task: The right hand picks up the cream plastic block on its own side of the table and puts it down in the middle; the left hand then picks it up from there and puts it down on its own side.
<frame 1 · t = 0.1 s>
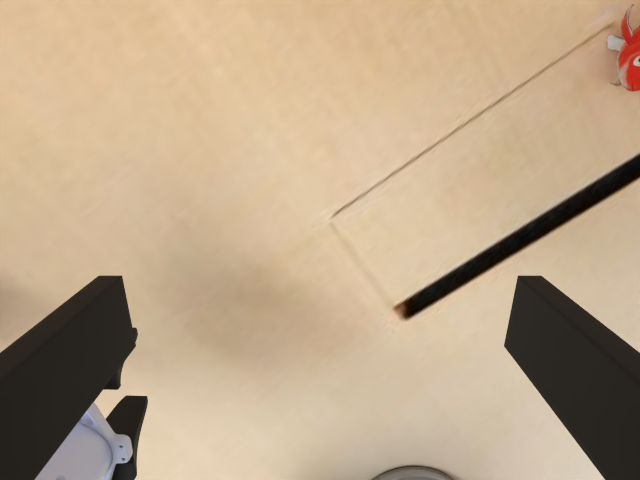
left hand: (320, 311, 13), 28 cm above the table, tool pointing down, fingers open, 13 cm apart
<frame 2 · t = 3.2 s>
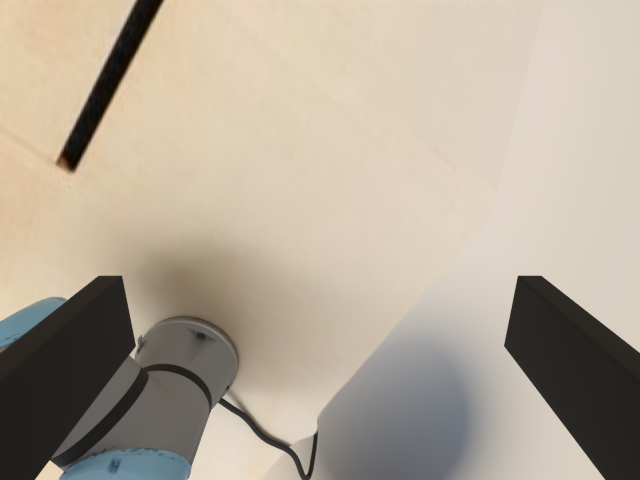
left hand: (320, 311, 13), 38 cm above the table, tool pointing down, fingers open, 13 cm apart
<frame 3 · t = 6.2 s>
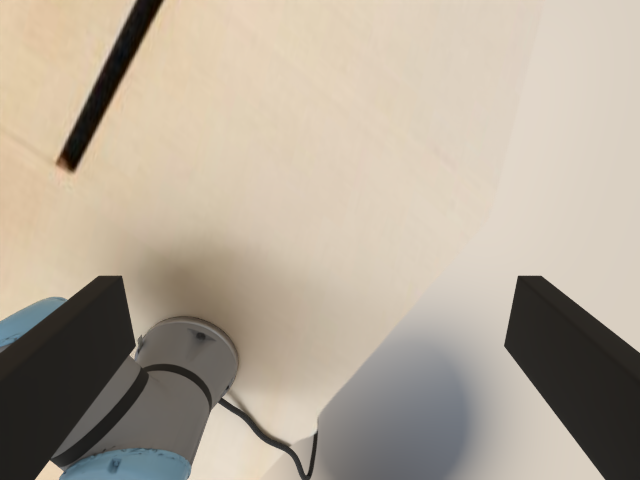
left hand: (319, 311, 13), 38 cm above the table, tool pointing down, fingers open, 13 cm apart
when the right hand's fingers open (2 cm above the table, at t = 9.3 s): block drops 1 cm, on the table.
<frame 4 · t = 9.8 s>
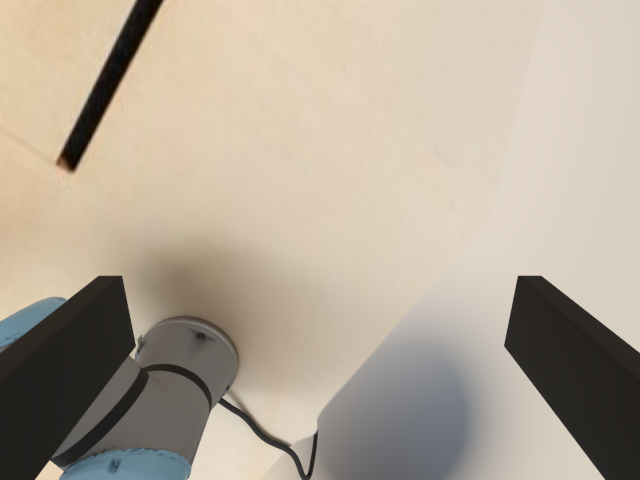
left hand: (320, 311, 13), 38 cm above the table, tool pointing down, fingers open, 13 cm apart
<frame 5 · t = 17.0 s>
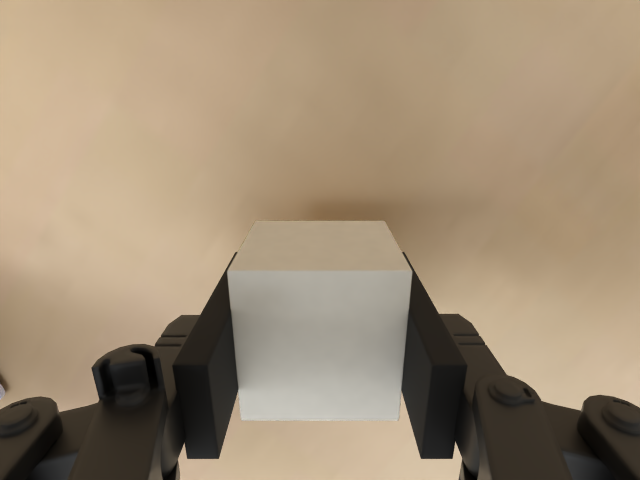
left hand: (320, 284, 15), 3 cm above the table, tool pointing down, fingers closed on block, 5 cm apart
block: (319, 281, 15), point 3 cm above the table, touching left hand
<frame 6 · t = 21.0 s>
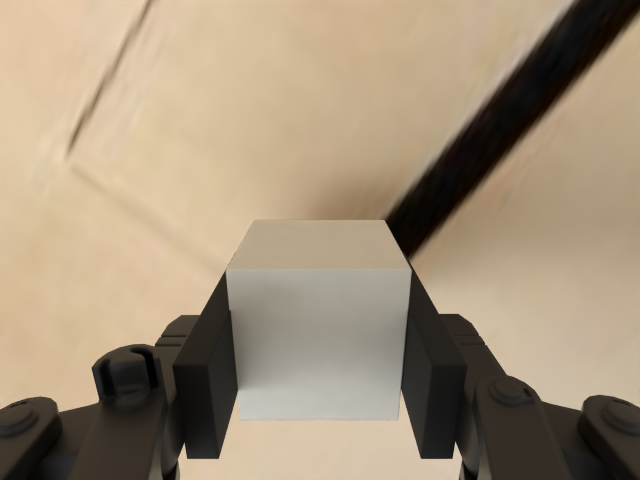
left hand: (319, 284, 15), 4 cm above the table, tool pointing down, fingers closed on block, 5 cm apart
block: (319, 280, 15), point 4 cm above the table, touching left hand
when the left hand's fingers open (1 cm above the table, at t = 25.1 s): block stays where it is, on the table.
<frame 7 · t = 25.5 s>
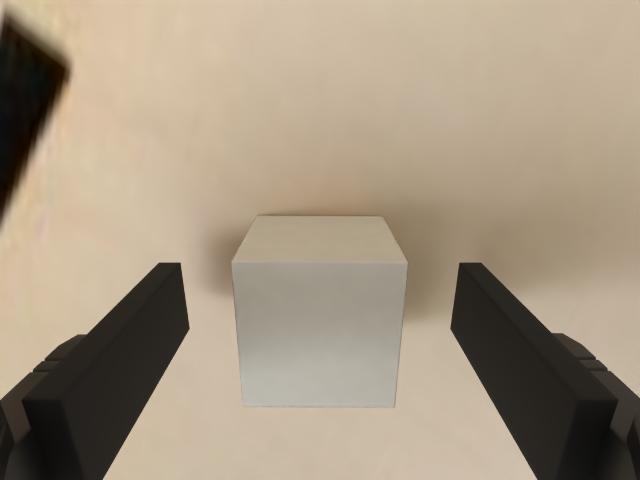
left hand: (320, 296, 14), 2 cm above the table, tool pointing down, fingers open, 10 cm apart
block: (319, 275, 15), on the table
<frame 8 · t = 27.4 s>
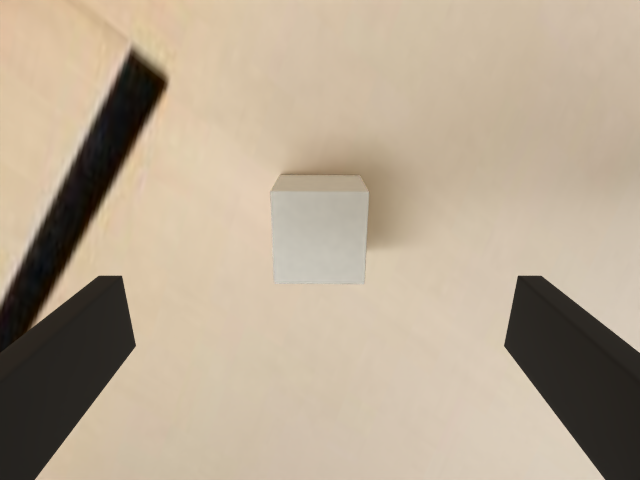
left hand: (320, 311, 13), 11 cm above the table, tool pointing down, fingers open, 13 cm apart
block: (319, 215, 24), on the table
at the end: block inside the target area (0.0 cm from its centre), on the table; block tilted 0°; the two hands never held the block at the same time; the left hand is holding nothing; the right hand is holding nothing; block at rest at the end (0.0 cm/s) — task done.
